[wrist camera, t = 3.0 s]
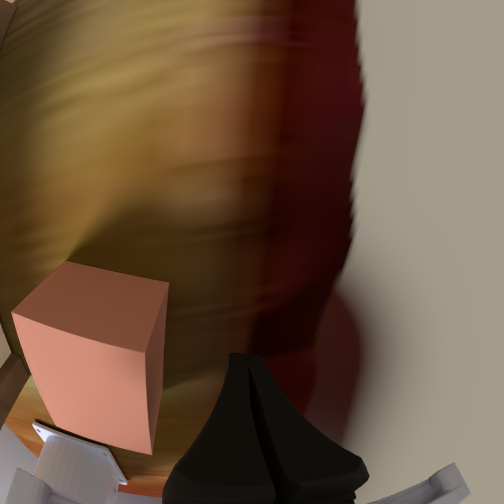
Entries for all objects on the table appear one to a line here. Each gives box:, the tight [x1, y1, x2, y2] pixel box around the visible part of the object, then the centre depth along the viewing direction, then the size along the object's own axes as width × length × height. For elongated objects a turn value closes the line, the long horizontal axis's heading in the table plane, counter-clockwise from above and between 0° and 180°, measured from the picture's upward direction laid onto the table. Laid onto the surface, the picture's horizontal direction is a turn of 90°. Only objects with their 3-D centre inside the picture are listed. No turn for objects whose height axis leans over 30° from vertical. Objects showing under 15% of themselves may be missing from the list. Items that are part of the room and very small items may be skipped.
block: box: [12, 261, 169, 455], centre depth 10 cm, size 7×5×4 cm
